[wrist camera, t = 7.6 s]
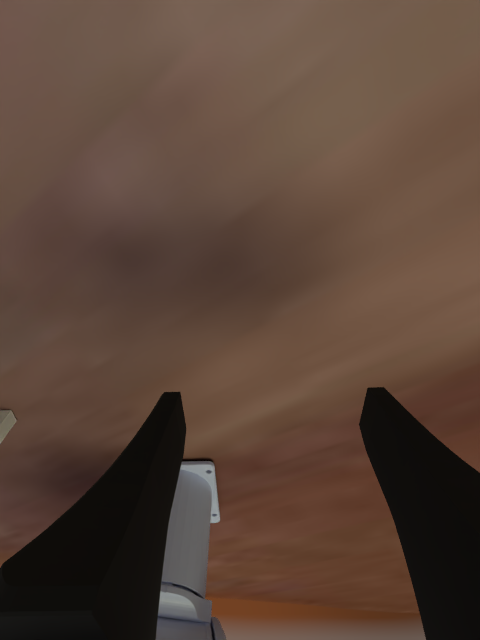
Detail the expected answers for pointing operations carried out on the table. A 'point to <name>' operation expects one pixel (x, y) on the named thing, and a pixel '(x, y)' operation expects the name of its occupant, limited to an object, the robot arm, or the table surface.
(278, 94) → the table surface
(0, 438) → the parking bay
